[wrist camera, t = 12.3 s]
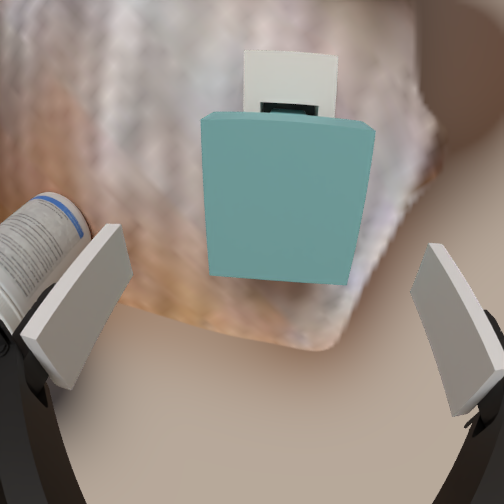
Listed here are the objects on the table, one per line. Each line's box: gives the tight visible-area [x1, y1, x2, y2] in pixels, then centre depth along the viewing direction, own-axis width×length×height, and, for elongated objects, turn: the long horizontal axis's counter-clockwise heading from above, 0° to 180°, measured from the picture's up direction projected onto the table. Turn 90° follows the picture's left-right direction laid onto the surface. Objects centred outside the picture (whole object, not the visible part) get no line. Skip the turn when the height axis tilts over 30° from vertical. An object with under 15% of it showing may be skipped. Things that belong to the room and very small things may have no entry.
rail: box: [243, 50, 338, 118], centre depth 22 cm, size 6×18×3 cm, turn 179°
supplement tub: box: [0, 192, 91, 335], centre depth 24 cm, size 10×10×15 cm
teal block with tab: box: [201, 108, 376, 285], centre depth 20 cm, size 9×10×8 cm
